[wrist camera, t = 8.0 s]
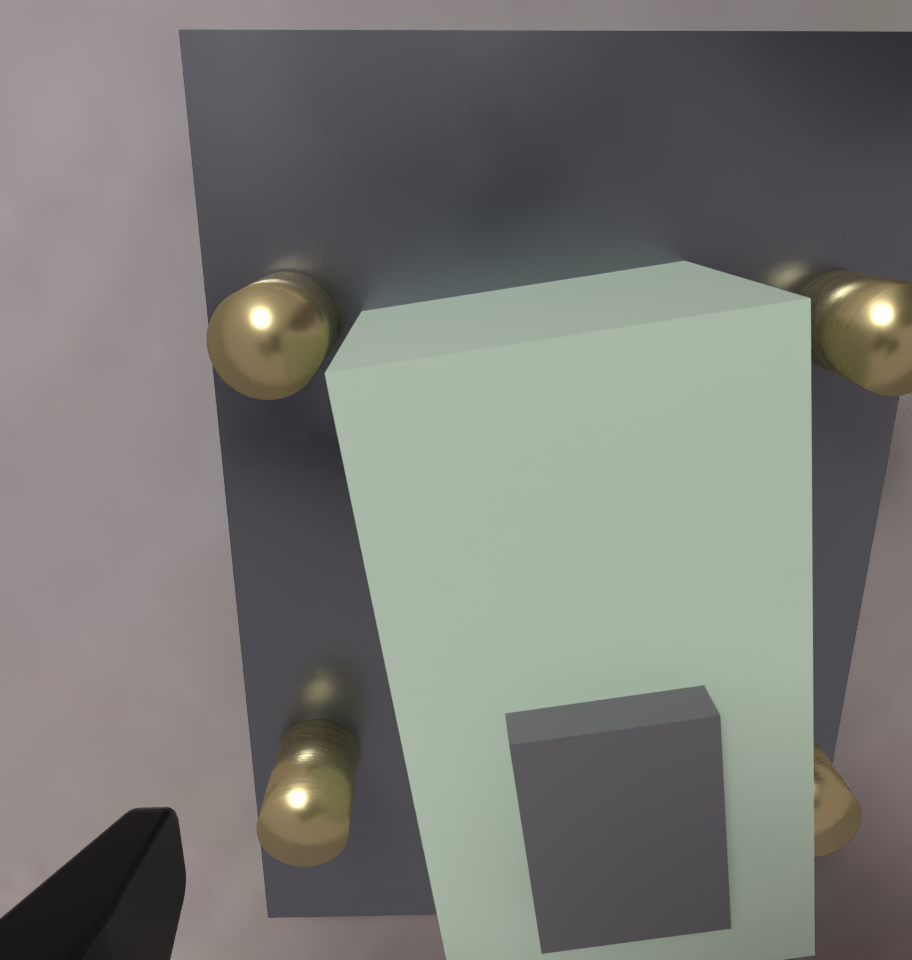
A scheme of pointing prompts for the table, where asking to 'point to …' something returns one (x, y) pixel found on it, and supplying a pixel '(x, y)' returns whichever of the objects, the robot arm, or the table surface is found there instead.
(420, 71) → the chassis
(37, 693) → the table surface
